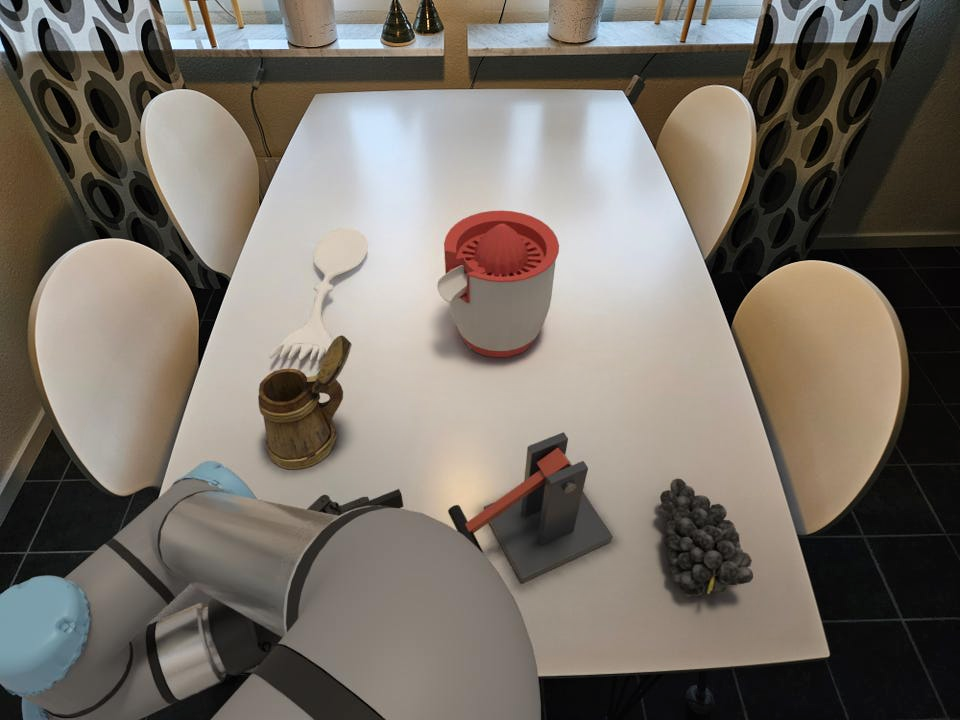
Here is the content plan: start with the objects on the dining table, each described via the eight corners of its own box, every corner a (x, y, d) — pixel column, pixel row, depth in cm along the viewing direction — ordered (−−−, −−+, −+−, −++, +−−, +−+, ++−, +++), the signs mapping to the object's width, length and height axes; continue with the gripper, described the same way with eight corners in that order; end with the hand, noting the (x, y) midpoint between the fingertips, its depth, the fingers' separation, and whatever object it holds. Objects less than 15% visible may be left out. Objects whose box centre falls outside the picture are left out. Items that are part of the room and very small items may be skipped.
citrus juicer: (419, 325, 101) (410, 217, 86) (511, 286, 107) (517, 179, 93) (472, 389, 92) (472, 282, 77) (569, 343, 98) (585, 235, 84)
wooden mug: (370, 462, 84) (350, 370, 70) (263, 472, 82) (223, 380, 69) (370, 409, 90) (352, 314, 76) (271, 417, 88) (235, 323, 75)
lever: (476, 561, 68) (466, 556, 66) (453, 515, 72) (443, 509, 70) (585, 484, 67) (578, 477, 65) (556, 441, 71) (548, 433, 69)
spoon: (271, 370, 94) (265, 354, 92) (324, 238, 116) (320, 221, 113) (331, 374, 94) (327, 358, 91) (373, 240, 115) (371, 224, 113)
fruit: (669, 449, 74) (711, 573, 64) (730, 458, 76) (780, 580, 66) (633, 490, 80) (666, 609, 69) (691, 497, 82) (731, 614, 72)
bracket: (521, 583, 73) (529, 518, 62) (483, 511, 79) (484, 441, 68) (611, 541, 76) (633, 473, 65) (568, 476, 82) (582, 403, 71)
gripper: (207, 547, 72) (387, 476, 78) (256, 786, 57) (475, 675, 63) (184, 513, 66) (380, 440, 73) (232, 768, 51) (475, 648, 57)
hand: (424, 549), depth 68 cm, fingers open, 13 cm apart
